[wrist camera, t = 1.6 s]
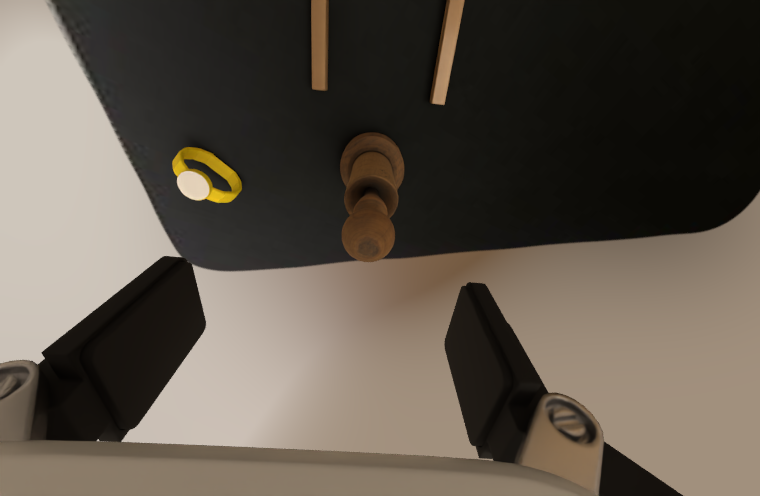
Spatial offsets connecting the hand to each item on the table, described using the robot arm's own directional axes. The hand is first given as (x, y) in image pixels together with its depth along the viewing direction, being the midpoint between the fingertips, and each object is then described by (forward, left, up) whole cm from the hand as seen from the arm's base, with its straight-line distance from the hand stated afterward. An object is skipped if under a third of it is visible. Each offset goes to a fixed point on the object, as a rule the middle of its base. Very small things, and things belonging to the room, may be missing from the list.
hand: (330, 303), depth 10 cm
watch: (+15, +3, -23) cm, 28 cm away
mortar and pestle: (-1, +1, -23) cm, 23 cm away
